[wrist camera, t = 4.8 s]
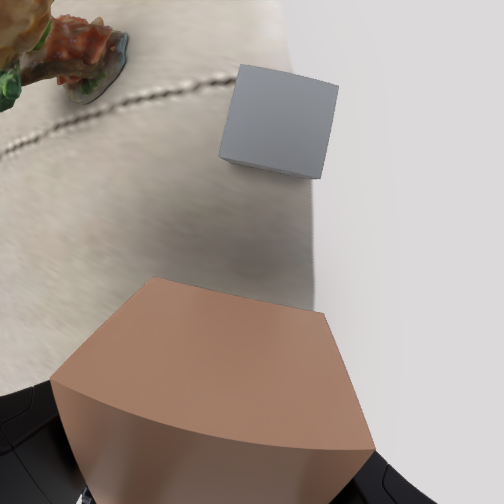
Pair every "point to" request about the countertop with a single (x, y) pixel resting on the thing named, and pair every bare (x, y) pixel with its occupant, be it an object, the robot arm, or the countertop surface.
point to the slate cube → (279, 122)
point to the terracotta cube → (211, 403)
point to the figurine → (56, 51)
